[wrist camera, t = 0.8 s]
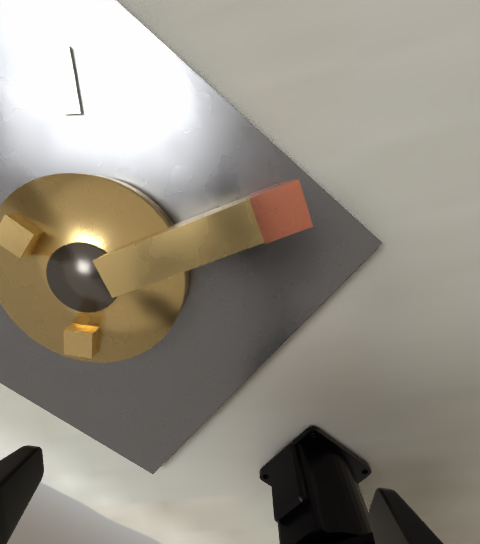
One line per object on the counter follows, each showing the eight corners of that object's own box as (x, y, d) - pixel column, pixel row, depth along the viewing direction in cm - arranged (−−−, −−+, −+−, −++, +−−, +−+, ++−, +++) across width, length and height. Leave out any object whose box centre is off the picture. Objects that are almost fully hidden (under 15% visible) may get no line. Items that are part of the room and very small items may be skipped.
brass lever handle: (304, 200, 16) (330, 207, 11) (142, 388, 20) (108, 454, 15) (118, 34, 14) (47, -48, 9) (-22, 280, 18) (-124, 316, 13)
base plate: (374, 239, 18) (383, 243, 17) (156, 462, 23) (152, 476, 22) (27, -76, 14) (6, -100, 13) (-133, 286, 19) (-157, 292, 18)
